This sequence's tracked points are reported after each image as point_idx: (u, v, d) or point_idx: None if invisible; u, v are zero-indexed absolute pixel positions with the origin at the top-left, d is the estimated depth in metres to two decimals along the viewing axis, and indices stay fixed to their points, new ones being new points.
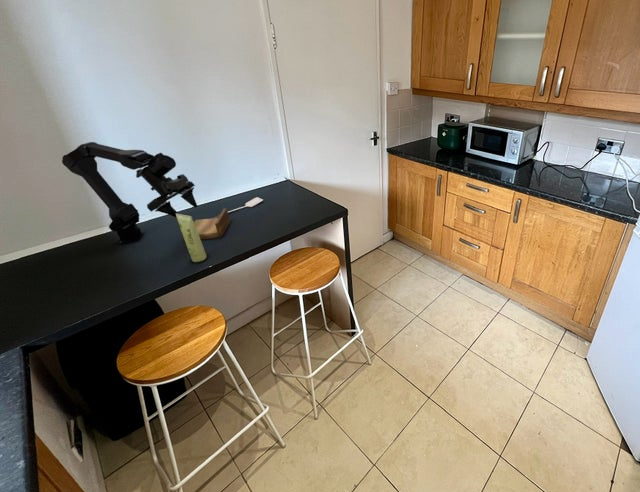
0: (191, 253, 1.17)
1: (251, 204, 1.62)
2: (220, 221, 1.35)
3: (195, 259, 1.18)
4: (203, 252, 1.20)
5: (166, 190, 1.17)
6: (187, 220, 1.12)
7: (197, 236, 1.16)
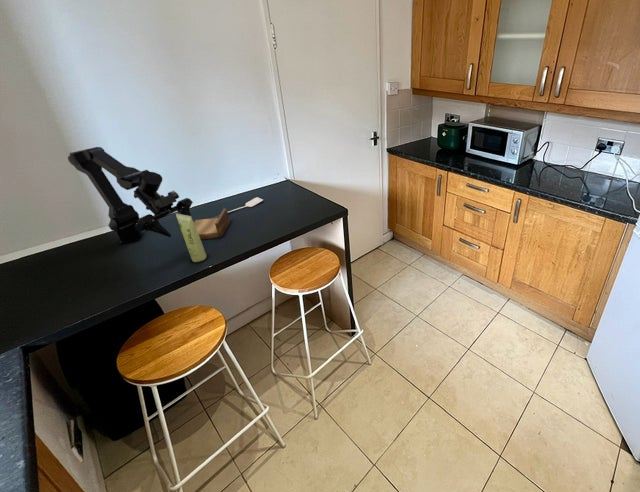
0: (191, 253, 1.17)
1: (251, 204, 1.62)
2: (220, 221, 1.35)
3: (195, 259, 1.18)
4: (203, 252, 1.20)
5: (155, 208, 1.12)
6: (187, 220, 1.12)
7: (197, 236, 1.16)
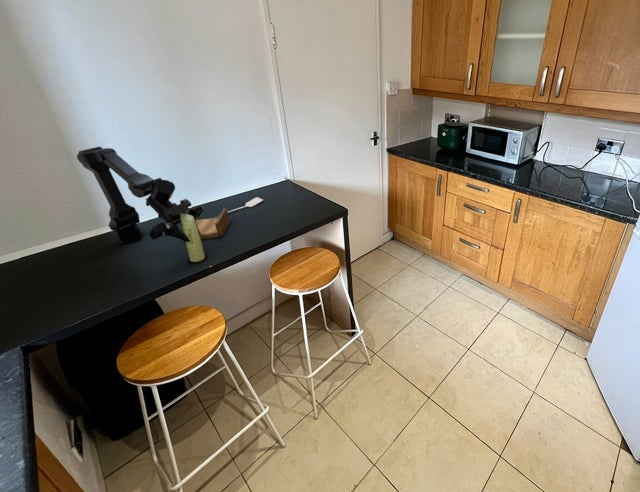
0: (189, 252, 1.17)
1: (251, 204, 1.62)
2: (220, 221, 1.35)
3: (193, 259, 1.18)
4: (201, 253, 1.19)
5: (168, 216, 1.12)
6: (189, 220, 1.12)
7: (197, 236, 1.16)
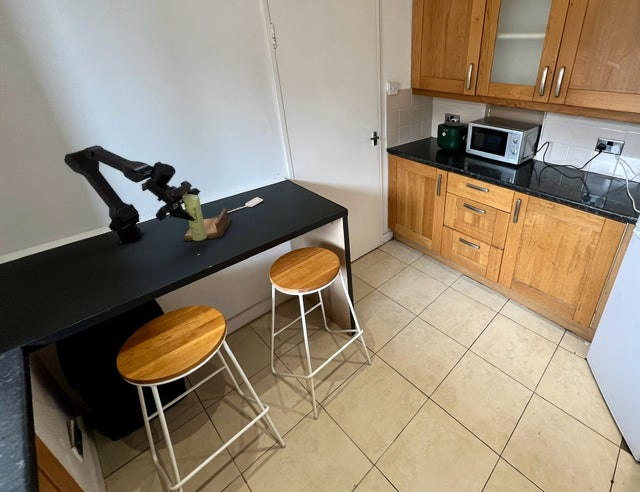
0: (194, 232, 1.24)
1: (251, 204, 1.62)
2: (220, 221, 1.35)
3: (197, 238, 1.25)
4: (205, 231, 1.27)
5: (172, 198, 1.17)
6: (194, 199, 1.19)
7: (201, 215, 1.23)
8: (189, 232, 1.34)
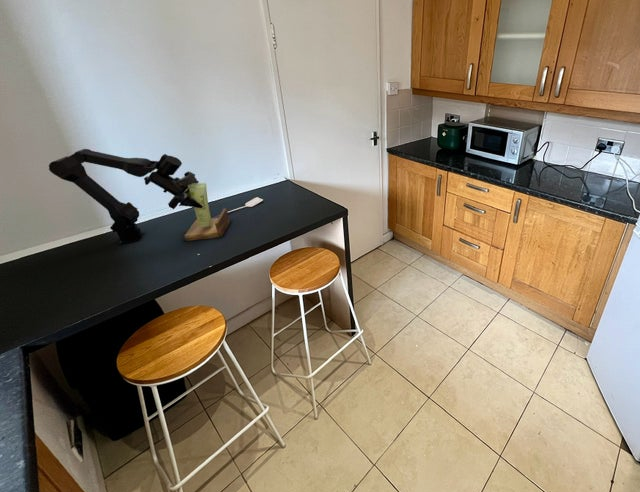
0: (201, 218, 1.33)
1: (251, 204, 1.62)
2: (220, 221, 1.35)
3: (205, 224, 1.34)
4: (210, 218, 1.37)
5: (180, 187, 1.26)
6: (201, 187, 1.30)
7: (207, 202, 1.33)
8: (189, 232, 1.34)
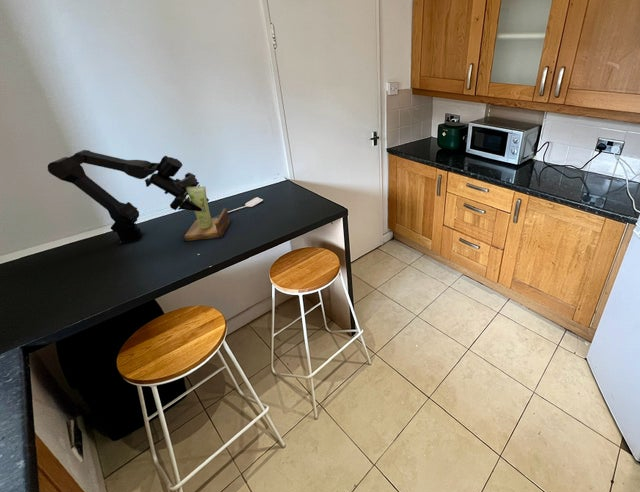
0: (202, 220, 1.34)
1: (251, 204, 1.62)
2: (220, 221, 1.35)
3: (206, 225, 1.36)
4: None
5: (181, 188, 1.27)
6: (201, 190, 1.29)
7: (207, 204, 1.34)
8: (189, 232, 1.34)
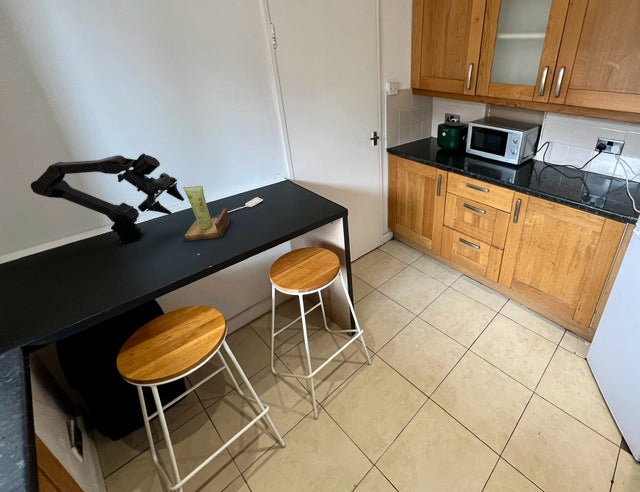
0: (202, 220, 1.34)
1: (251, 204, 1.62)
2: (220, 221, 1.35)
3: (206, 225, 1.36)
4: (210, 219, 1.38)
5: (152, 190, 1.24)
6: (198, 190, 1.30)
7: (206, 204, 1.34)
8: (189, 232, 1.34)
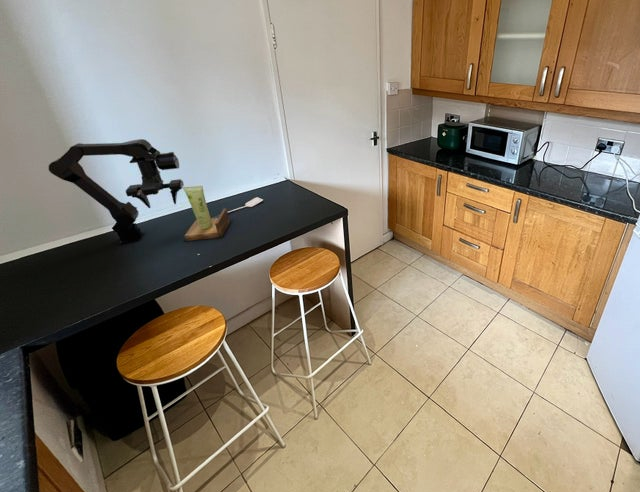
0: (202, 220, 1.34)
1: (251, 204, 1.62)
2: (220, 221, 1.35)
3: (206, 225, 1.36)
4: (210, 219, 1.38)
5: None
6: (198, 190, 1.30)
7: (206, 204, 1.34)
8: (189, 232, 1.34)
